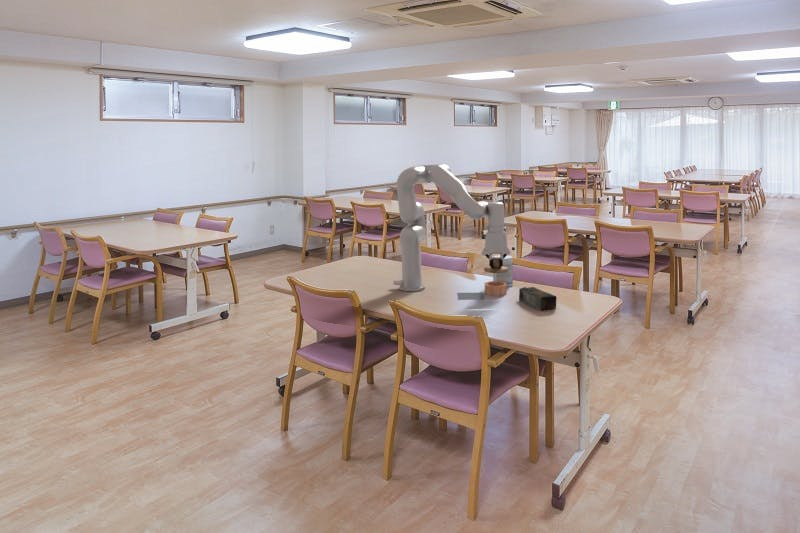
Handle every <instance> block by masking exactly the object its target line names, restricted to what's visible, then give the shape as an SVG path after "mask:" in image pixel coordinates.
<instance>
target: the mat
mask: <svg viewBox="0 0 800 533" xmlns="http://www.w3.org/2000/svg"><path fill="white" fill-rule="evenodd" d="M456 294H457V295H456V296H457V300H458V301H461V300H463V301H465V300H467V301H469V300H472V301H473V300H475V301H476V300H479V301H480V300H485V297H484V293H483V292H457V293H456Z"/></svg>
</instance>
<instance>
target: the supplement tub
mask: <svg viewBox="0 0 800 533" xmlns="http://www.w3.org/2000/svg"><path fill="white" fill-rule="evenodd" d="M493 257H499V258H500V254H497V255H495V256H493ZM513 264H514V262H513V256H512V255H507V256H506V257H505V258H504V259H503V266H504V267H507V268H508V271H507V272H503V273H492V280H493V281H500V282H505V283H506V284H507V287H512V286H513V277H514V276H513V274H514V272H513V270H514V269H513Z"/></svg>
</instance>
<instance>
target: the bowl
mask: <svg viewBox="0 0 800 533" xmlns="http://www.w3.org/2000/svg"><path fill="white" fill-rule="evenodd" d="M507 289H508V288H507V284H506V283H505V282H500V281H487V282H484V294H485V295H487V296H492V297H493V296H494V297H500V296H504V295H507V292H508V290H507Z"/></svg>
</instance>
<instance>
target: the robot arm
mask: <svg viewBox="0 0 800 533" xmlns="http://www.w3.org/2000/svg"><path fill="white" fill-rule="evenodd" d="M425 183H426V184H427V183H434V184H435V186H437V187H438V188H439V189H441V190H442V191H443V192H444V193H445V194H446V195H447V196H448V197H449V198H450V199H451V200H452V201H453V202H454V205H456V206H457V207H458V208H459V209H460V210H461V211H462V213H464V214H466V215H467V217H469V218H470V219H472V220H477V221H478V220H481V219H483V218H486V217H487V226H484V231H485V230H486V232H485V238H484V248H483V250H482V251H481V255H482V256H484V257H486V258H487V259H488V260H489V261H488V262H489V263H488V265H489V266H491V268H493V260H492V258H493V255H500V268H501V266H503V259H504V258H505V257H506V256H507V255H508V256H510V254H512V253H511V251H510V249H509V248H508V237H507V231H505V204H504V203H503V202H502V201H482V200H480V201H479V200H478V201H476V200H475V199H474V198H473V197H472V196H471V195H470V194H469V193H468V192H467V190H466V187H465V185H464V183H463V182H462V181H461V180H459V179H458V178H457V177H456V176H455V175H454V174H453V173H452V171H451V168H450V167H449V166H448V165H447V164H444V163H438V164H423V165H422V164H421V165H414V166H410V167H407V168H406V169H404V170H402V171H401V173H400V174H398V178H397V180H396V190H397V191H396V192H397V201H398V202H397V203H398V211H399V217H400V220H401V221H402V222H404V223H406V224H407V226H405V227H403V228H402V230H401V231H400V234H399V244H400V251H401V276H402V277H401V279H399V280H393V285H395V286H399V290H400V289H401V290H400V291H402V290H404V291H403V292H419V291H423V290H425V288H426V287H425V285H424V284H423V283H422V255H421V254H422V253H421V252H422V251H421V250H422V249H421V245H420V242H421V241H423V240H424V239H425V237H426V233H427V227H426V218H425V217H426V216H425V215H426V214H425V210H424V207H423V205H422V203H420V202H419V201H417V199H416V192H415V189H414V188H415V187H414V186H416V185H420V184H425Z"/></svg>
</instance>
